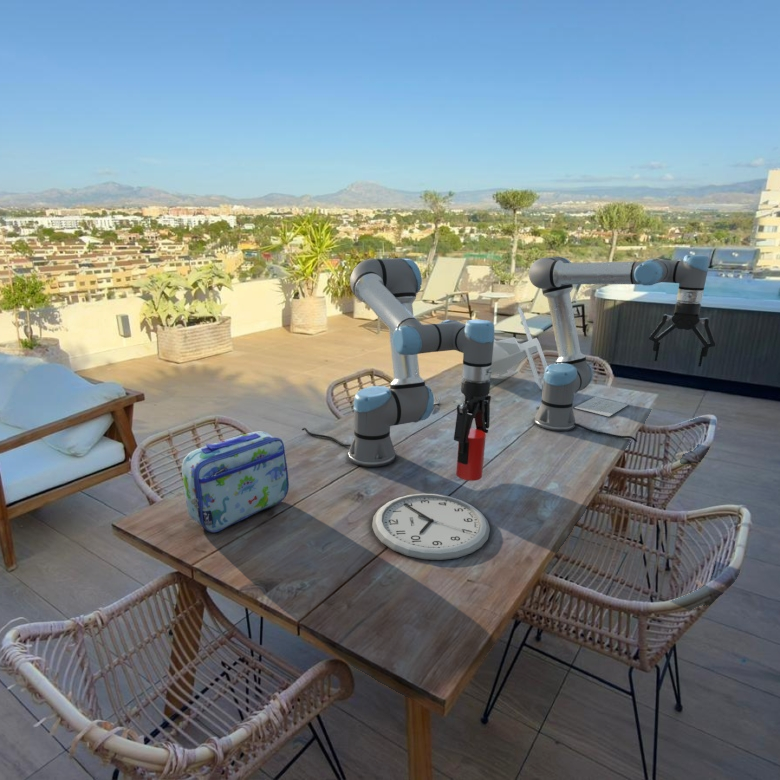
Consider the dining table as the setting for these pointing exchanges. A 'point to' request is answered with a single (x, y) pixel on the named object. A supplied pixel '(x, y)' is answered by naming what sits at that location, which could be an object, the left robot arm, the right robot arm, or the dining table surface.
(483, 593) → the dining table surface
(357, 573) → the dining table surface
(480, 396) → the left robot arm
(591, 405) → the invitation card
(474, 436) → the can
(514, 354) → the white plastic object
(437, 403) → the fork
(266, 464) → the lunch box
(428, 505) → the wall clock
